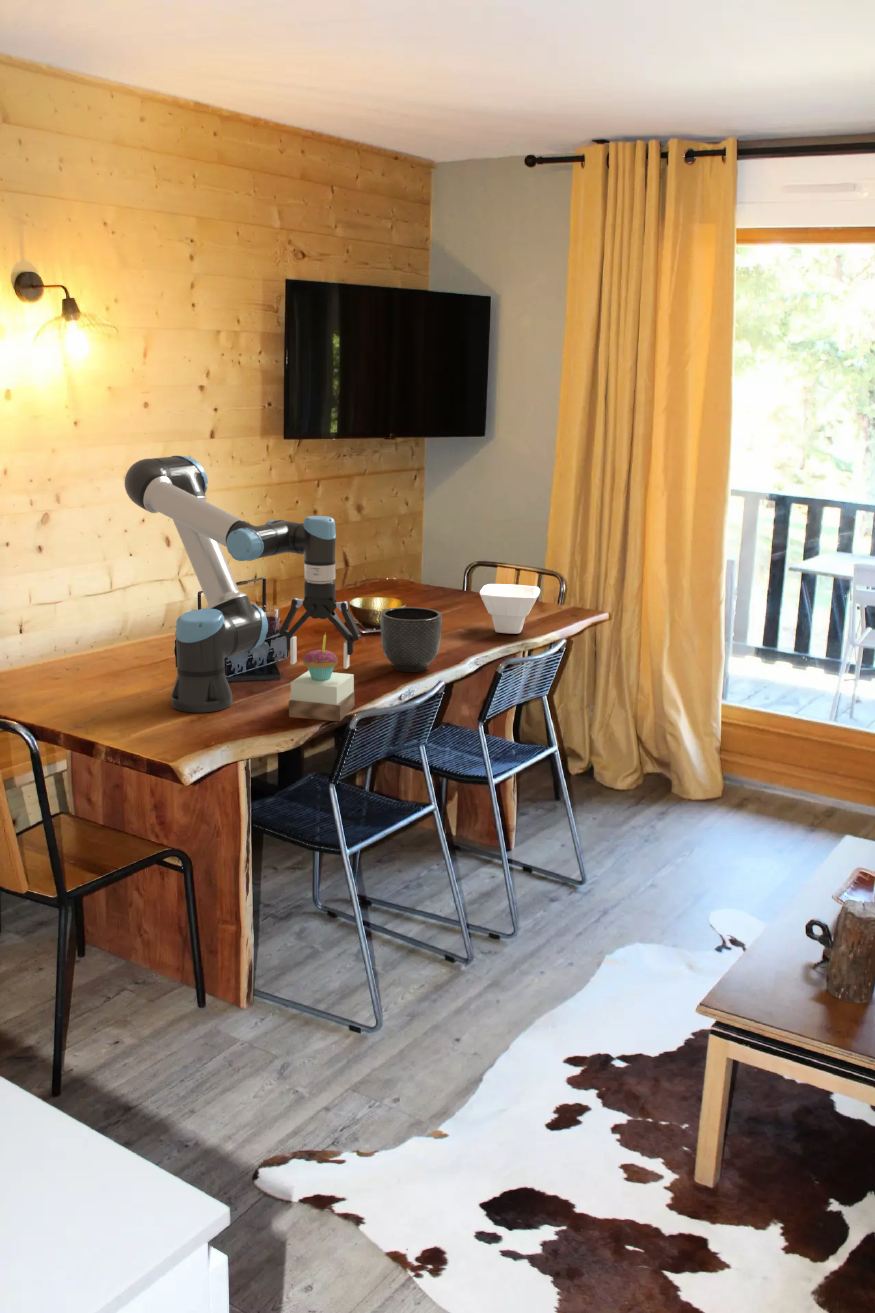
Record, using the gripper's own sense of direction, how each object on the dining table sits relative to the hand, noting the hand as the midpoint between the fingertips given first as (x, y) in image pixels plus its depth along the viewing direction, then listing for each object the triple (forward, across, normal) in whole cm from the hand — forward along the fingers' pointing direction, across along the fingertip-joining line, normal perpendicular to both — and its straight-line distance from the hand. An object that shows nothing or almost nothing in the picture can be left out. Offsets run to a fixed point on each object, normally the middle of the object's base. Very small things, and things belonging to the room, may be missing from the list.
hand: (319, 665), depth 286 cm
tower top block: (+8, +1, 0) cm, 8 cm away
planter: (+12, +13, +45) cm, 48 cm away
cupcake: (+3, 0, 0) cm, 3 cm away
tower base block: (+12, +1, 0) cm, 12 cm away
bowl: (+12, +34, +96) cm, 103 cm away
